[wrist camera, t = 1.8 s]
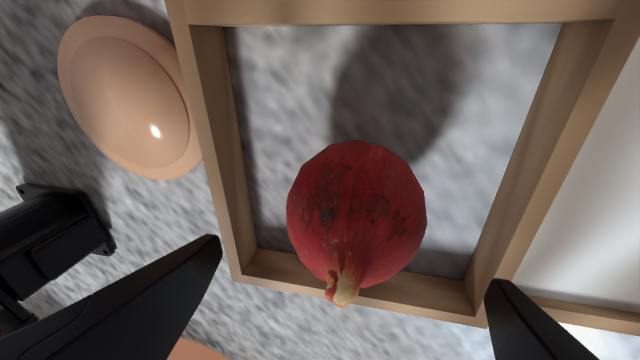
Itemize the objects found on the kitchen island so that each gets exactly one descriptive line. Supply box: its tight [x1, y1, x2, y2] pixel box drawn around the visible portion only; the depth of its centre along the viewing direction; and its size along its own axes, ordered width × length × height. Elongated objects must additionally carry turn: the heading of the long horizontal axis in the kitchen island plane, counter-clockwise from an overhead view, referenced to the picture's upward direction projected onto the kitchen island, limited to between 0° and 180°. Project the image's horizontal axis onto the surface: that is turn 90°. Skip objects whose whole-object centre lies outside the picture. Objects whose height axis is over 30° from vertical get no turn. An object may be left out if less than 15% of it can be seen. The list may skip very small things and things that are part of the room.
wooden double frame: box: [164, 0, 640, 336], centre depth 12 cm, size 32×16×2 cm, turn 90°
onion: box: [286, 140, 427, 308], centre depth 11 cm, size 6×6×8 cm
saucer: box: [57, 15, 203, 180], centre depth 15 cm, size 9×9×1 cm
